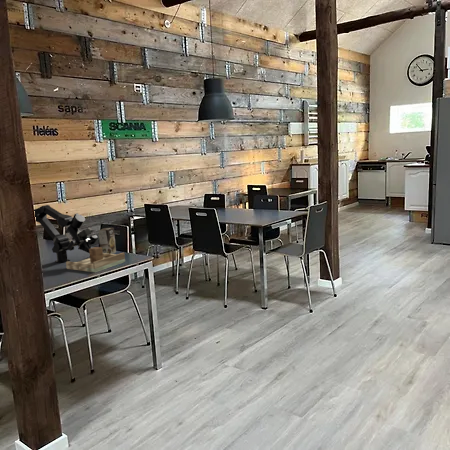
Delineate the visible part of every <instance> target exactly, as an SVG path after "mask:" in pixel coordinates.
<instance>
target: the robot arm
mask: <svg viewBox="0 0 450 450" xmlns="http://www.w3.org/2000/svg"><path fill="white" fill-rule="evenodd" d="M33 209H34V211H35V217H36V221H35V222H37V223H39V224H40V225H41V226H42V228H43V229H44V230H45V231H46V232H47V234H48V235H49V236H50V237H51V239H52V240H53V241H52V242H53V247H52V248H51V251H52V253H54V254H55V253H56V260H54V262H55V263H59V264H62V263H66V262H67V261H70V262H71V259H69V258H68V253H67V251H70V252H71V251H74V250H75V247H78V248H77V249H78V250H80V251H84V252H86V253H87V254H88V253H89V249H90V248H92V245H94V244H96V242H97V241H98V239H99V236H97V234H94V235H93V234H92V233H93V229H92V228H91V227H87V228H86V229H83V230H80V228H82V227H83V224H85V221H86V218H85V216H83V215H82V214H79V213H78V212H77V213H74V214H73V216H71V215H69V214H64V213H61V212H60V211H58V210H56V209H55V208H54V207H51V206H50V205H49V204H45V205H41V206H40V207H38V208H33ZM48 216H49V217H50V218H52V219H54V220H55V221H56V223H57V224H58V225H59V226H60V227H61V228H65V233H64V234H60V232H59V231H58V230H57V228H55V226H54V225H53V223H51V221H50V220H49V219H48ZM66 227H67V228H66ZM66 234H69V235H70V236H71V241H70V239H69V238H68V236H67V235H66ZM89 235H90V236H89ZM89 254H90V253H89Z"/></svg>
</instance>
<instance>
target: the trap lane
mask: <svg viewBox="0 0 450 450" xmlns="http://www.w3.org/2000/svg"><path fill="white" fill-rule="evenodd" d="M125 255H126V254H125V252H121V253H117V254H116V253H114V254H107V253H103V259H101V260H98V261H95V262H93V263H91V262H90V257H88V258H85V259H82V260H78V261H71V260H70V261H66V262H65V264H66V265H65V267H66V269H67V270H74V271H82V272H91V273H98V272H101V271H103V270H106V269H109V268H111V267H115V266H118V265H121V264H123V263H126V258H125V257H126V256H125Z"/></svg>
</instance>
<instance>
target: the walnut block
mask: <svg viewBox="0 0 450 450" xmlns="http://www.w3.org/2000/svg"><path fill="white" fill-rule="evenodd" d="M89 258H90V262H91V263H93V262H95V261H98V260H101V259H103V252H102V247H100V246H95V247H91V248H90V249H89Z"/></svg>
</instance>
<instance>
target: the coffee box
mask: <svg viewBox="0 0 450 450" xmlns="http://www.w3.org/2000/svg"><path fill="white" fill-rule="evenodd" d="M115 237H116V236H115V227H104V228H102V229H99V230H98V239H99V247H102V252H103V253H107V254H116V253H117V248H116V238H115Z"/></svg>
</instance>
